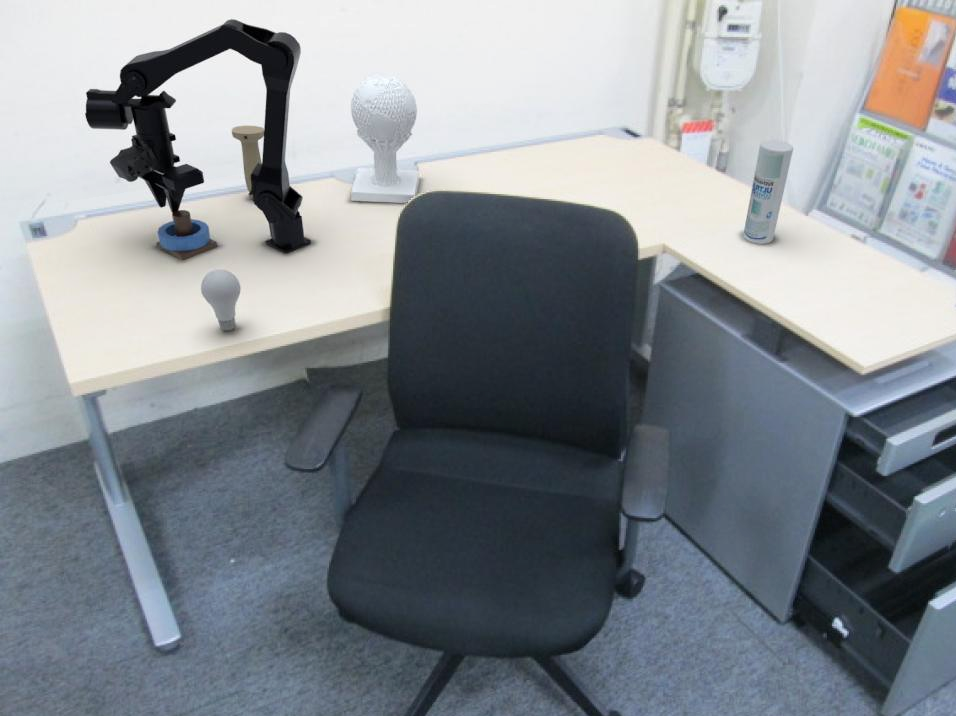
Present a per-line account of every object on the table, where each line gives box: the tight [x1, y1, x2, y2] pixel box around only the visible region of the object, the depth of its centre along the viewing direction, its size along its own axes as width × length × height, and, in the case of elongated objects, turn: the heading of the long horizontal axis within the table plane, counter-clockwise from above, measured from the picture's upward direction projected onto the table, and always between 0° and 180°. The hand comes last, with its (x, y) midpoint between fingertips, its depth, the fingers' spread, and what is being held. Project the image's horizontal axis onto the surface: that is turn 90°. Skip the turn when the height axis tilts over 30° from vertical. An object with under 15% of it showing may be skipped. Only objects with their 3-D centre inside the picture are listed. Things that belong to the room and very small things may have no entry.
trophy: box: [350, 74, 420, 204], centre depth 197 cm, size 14×14×25 cm
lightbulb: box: [200, 269, 242, 332], centre depth 150 cm, size 6×6×11 cm
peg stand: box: [155, 209, 218, 261], centre depth 175 cm, size 8×8×7 cm
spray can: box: [743, 139, 794, 245], centre depth 187 cm, size 6×6×20 cm
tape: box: [157, 218, 211, 251], centre depth 177 cm, size 9×9×2 cm
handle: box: [231, 125, 264, 200], centre depth 193 cm, size 5×6×15 cm
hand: (168, 209), depth 175 cm, fingers open, 4 cm apart
